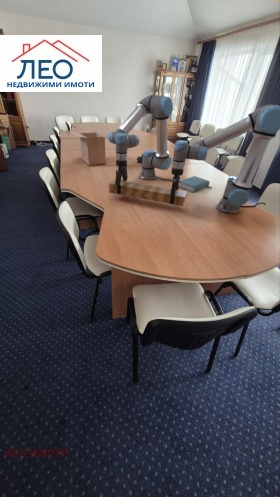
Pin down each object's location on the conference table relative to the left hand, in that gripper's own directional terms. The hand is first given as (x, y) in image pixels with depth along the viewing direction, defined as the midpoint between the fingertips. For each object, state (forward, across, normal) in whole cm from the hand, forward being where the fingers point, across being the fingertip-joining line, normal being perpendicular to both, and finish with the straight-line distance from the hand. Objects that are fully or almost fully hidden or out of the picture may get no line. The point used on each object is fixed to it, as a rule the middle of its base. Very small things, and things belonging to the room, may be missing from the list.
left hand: (121, 191), depth 161 cm
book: (+7, +50, -47) cm, 69 cm away
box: (+6, +76, +63) cm, 99 cm away
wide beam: (+1, 0, -19) cm, 19 cm away
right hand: (0, 0, -38) cm, 38 cm away
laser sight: (+7, +98, +10) cm, 99 cm away
